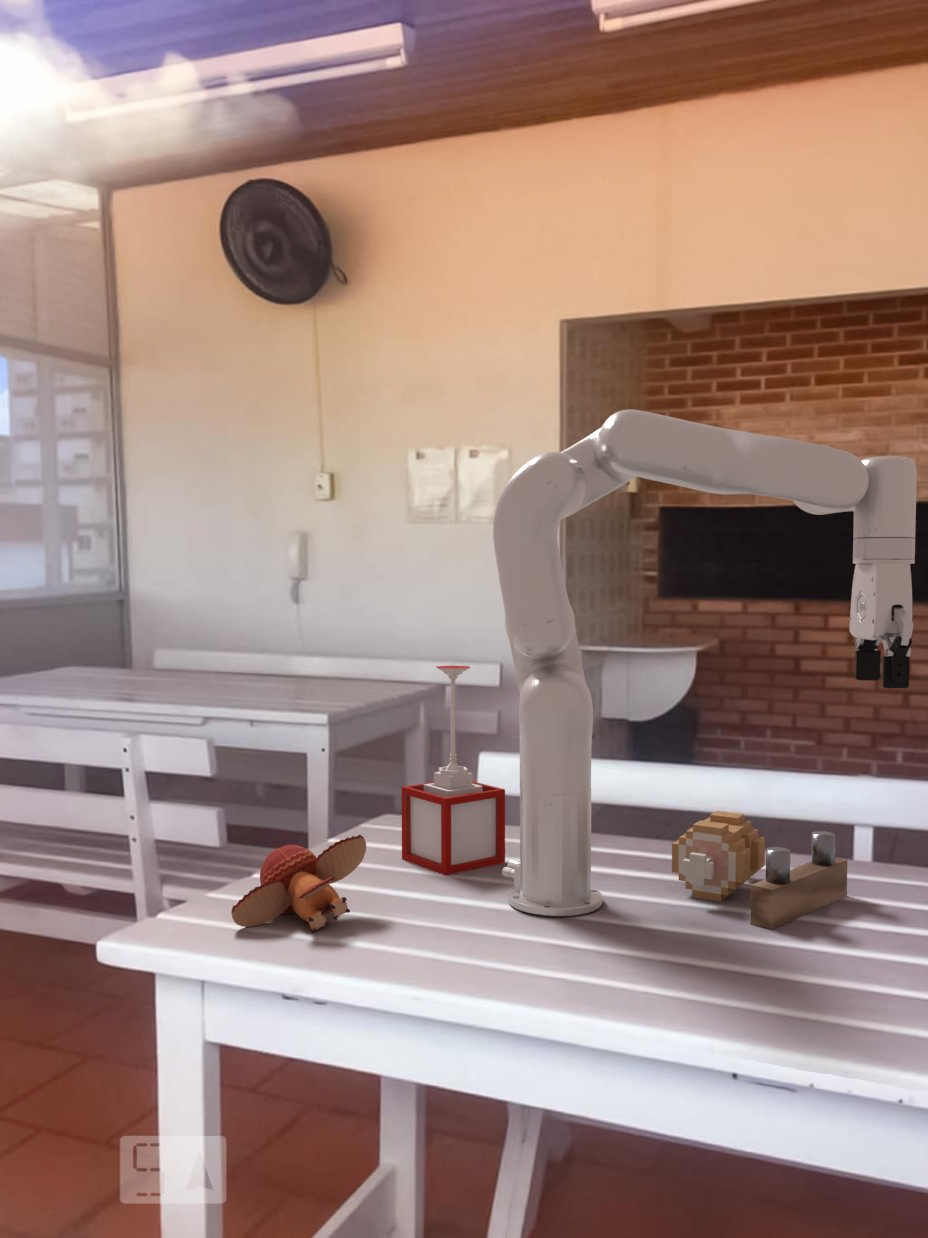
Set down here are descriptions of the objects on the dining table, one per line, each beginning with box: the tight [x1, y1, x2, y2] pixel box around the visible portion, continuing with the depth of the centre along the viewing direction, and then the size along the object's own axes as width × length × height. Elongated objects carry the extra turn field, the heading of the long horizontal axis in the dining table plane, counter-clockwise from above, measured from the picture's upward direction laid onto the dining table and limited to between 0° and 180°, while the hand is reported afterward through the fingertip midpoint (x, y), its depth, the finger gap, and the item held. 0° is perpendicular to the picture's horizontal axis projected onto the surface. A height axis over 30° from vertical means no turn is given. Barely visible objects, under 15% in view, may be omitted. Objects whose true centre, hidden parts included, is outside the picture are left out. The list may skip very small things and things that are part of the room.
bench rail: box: [749, 830, 848, 930], centre depth 143 cm, size 3×20×9 cm, turn 134°
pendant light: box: [401, 664, 506, 876], centre depth 167 cm, size 11×11×30 cm
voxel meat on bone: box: [671, 810, 766, 902], centre depth 152 cm, size 10×18×10 cm, turn 148°
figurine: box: [231, 834, 367, 934], centre depth 141 cm, size 20×9×15 cm
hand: (880, 683), depth 142 cm, fingers open, 9 cm apart
